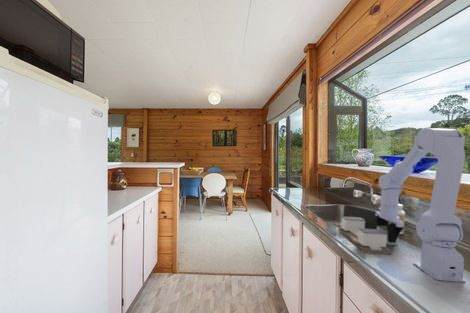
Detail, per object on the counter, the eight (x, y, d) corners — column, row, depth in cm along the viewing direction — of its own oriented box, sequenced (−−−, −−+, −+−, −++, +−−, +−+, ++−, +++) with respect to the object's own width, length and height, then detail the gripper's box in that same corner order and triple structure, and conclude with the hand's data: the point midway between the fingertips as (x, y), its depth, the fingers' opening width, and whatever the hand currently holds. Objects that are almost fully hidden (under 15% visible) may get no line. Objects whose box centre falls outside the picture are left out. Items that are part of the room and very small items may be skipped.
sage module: (397, 245, 88) (398, 229, 87) (381, 244, 88) (382, 228, 88) (391, 240, 92) (392, 226, 91) (375, 239, 92) (376, 225, 92)
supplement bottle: (385, 232, 102) (387, 204, 101) (386, 228, 107) (387, 201, 106) (403, 235, 98) (405, 206, 97) (403, 231, 103) (405, 204, 102)
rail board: (389, 254, 79) (390, 249, 79) (363, 252, 80) (363, 247, 80) (359, 231, 101) (359, 227, 101) (338, 229, 102) (338, 226, 101)
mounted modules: (386, 247, 80) (387, 233, 80) (363, 245, 81) (363, 232, 81) (359, 228, 100) (360, 217, 99) (341, 227, 100) (341, 216, 100)
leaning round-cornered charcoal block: (382, 231, 103) (383, 210, 102) (378, 233, 100) (380, 212, 100) (346, 221, 115) (347, 203, 115) (342, 222, 112) (343, 204, 112)
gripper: (412, 210, 82) (410, 247, 82) (388, 201, 96) (386, 232, 97) (392, 209, 82) (390, 246, 83) (371, 200, 97) (369, 231, 97)
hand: (386, 238), depth 90 cm, fingers open, 6 cm apart
